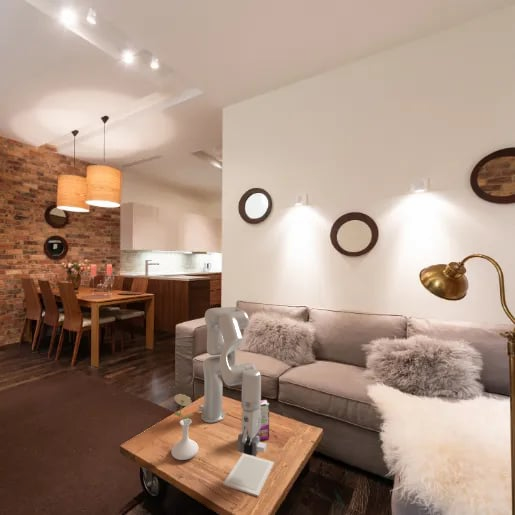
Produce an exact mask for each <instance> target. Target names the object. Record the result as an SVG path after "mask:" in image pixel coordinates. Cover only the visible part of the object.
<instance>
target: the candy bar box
mask: <svg viewBox="0 0 515 515" xmlns="http://www.w3.org/2000/svg"><path fill="white" fill-rule="evenodd" d="M257 436H260V441H265V440H269V439H270V403H269V402H268V400H267V399H261V428H260V430H259V431H258V434H257Z"/></svg>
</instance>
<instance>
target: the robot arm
mask: <svg viewBox="0 0 515 515" xmlns="http://www.w3.org/2000/svg"><path fill="white" fill-rule="evenodd" d="M204 321H205V325H206V331H207V332H206V352H207V354H208V355H210V357H207V358H205V359H204V360H203V362H202V369H203V375H204V376H203V377H204V380H203V381H204V388H203V389H204V392H203V393H204V400H203V402H204V403H203V404H199V405H198V409H197V410H198V411H199V412H202V413H201V414H200V418H201V420H202V421H203V422H205V423H212V424H213V423H218V422H221V421H222V420H224V419H225V417H226V413H225V411H224V410H223V382H224V384H225V385H226V386H228V387H233V386H239V385H241V409H242V411H241V412H242V413H241V424H240V425H241V426H240V427H241V428H240V429H241V431H240V432H241V433H240V434H242V436H243V438H242V442H243V443H244V454H248V455H251V456H252V444H251V441H252V439H253V438H254V437H255V436H257V434H258V431H259V430H260V428H261V400H262V375H261V374H262V373H261V372H260V371H259V370H258V369H257V368H256V366H255V365H254V364H253V363H251V362H249V363H241V364H237V363H236V362H237V350H238V348H240V347H241V346H242V345H243V343H244V337H243V334H242V332H241V330H243V329H247V328H248V327H249V326H250V318H249V315H248V314H247V312H246V311H245V310H243V309H241V308H240V307H237V306H228V307H227V306H226V307H213V308H208V309H207V310H206V311H205V313H204ZM219 375H221V377H222V378H220V376H219ZM222 379H223V380H222ZM247 438H249V440H247Z"/></svg>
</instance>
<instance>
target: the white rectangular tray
mask: <svg viewBox="0 0 515 515" xmlns="http://www.w3.org/2000/svg"><path fill="white" fill-rule="evenodd" d="M274 465H275V461H271V460H269V459H265V458H261V457H258V456H252V455H248V454H244V453H242V454H241V456H240V457H239V458H238V460H237V462H236V464H235V465H234V467H232V469H231V471H230V472H229V474H228V475H227V477H225V480H224V481H223V483H222V484H223V486H226V487H228V488H232V489H234V490H238V491H240V492H243V493H245V494H249V495H252V496H255V497H259V496H260V494H261V492H262V491H263V488H264V485H265V483H266V482H267V479H268V477H269V475H270V473H271V471H272V469H273V467H274Z"/></svg>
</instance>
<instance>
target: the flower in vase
mask: <svg viewBox="0 0 515 515" xmlns="http://www.w3.org/2000/svg"><path fill="white" fill-rule="evenodd" d="M173 400H174V401H175V402H176V404H178V405H180V409H179V410H180V411H179V412H178V411H175V412H174V413H173V415H175V416H177V417H181V418H182V419H181V420H180V421H179V424H180V426H181V428H182V438H181V439H180V440H178V442H176V443H175V444H174V445H173V447H172V449H171V455H172V457H173V458H174V459H176V460H180V461H184V460H185V461H186V460H190V459H192V458H194V457H195V456H196V455H197V453H198V452H199V450H200V448H199V444H198V443H197V442H196V441H195V440H193V439H191V438H189V428H190V425H191V424H192V419H190V417H191V416H192V413H188V414H186V415H185V416H184V417H183V415H182V406H183V407H189V406H191V405H192V403H193V402H192V400H191V397H189V396H188V395H186V394H182V393H178V394H175V395H174V397H173Z"/></svg>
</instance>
